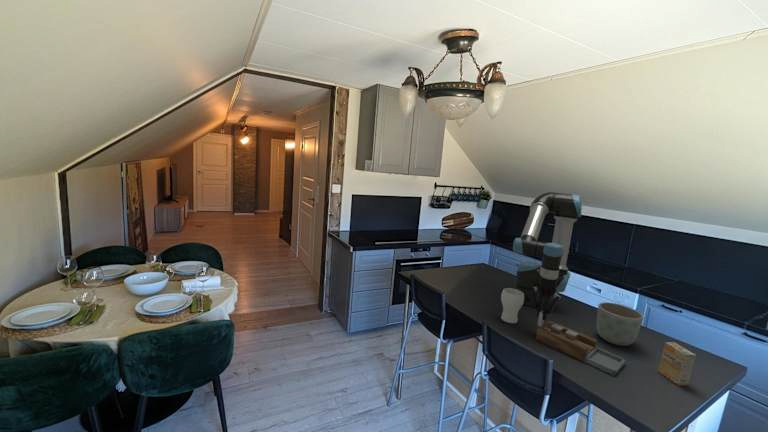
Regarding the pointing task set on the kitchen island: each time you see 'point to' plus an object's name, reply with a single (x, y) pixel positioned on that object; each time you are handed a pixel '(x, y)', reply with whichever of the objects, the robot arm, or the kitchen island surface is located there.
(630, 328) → the planter
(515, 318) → the cup
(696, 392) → the kitchen island surface
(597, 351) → the tray
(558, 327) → the chip rear
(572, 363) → the kitchen island surface
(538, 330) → the slot board
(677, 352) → the supplement box
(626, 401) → the kitchen island surface
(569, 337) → the chip front
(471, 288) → the kitchen island surface
